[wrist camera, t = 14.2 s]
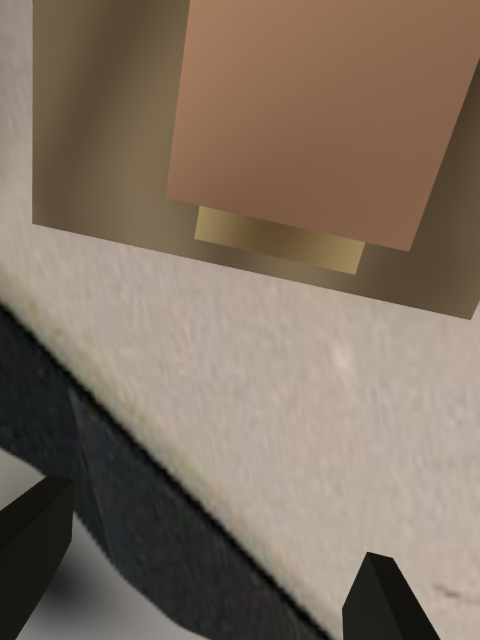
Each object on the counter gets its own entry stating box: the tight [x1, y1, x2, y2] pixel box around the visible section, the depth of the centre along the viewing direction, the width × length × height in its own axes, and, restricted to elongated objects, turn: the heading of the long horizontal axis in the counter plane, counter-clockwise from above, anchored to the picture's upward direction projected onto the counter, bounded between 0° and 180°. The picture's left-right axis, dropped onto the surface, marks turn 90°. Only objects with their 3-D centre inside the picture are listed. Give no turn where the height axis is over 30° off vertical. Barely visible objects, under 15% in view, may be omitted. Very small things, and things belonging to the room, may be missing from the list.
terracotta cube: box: [165, 0, 480, 252], centre depth 8 cm, size 4×4×4 cm
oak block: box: [194, 206, 365, 275], centre depth 13 cm, size 5×7×5 cm
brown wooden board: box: [32, 0, 480, 320], centre depth 15 cm, size 20×11×1 cm, turn 79°
